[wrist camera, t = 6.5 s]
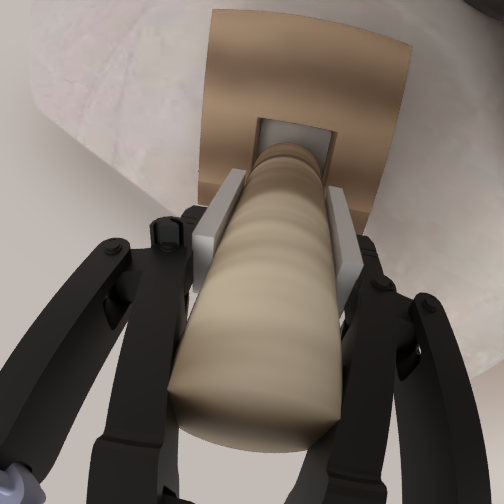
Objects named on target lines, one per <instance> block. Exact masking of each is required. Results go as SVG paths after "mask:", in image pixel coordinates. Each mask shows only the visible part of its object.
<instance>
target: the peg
mask: <svg viewBox="0 0 504 504" xmlns="http://www.w3.org/2000/svg"><path fill="white" fill-rule="evenodd" d="M167 390H168V392H169V396H170V399H171V403H172V406H173V410H174V413H175V416H176V419H177V423H178V426H179V428H180V429H182V430H184V431H185V432H187V433H189V434H191V435H193V436H195V437H198V438H201V439H203V440H205V441H208V442H211V443H214V444H218V445H221V446H225V447H229V448H234V449H238V450H244V451H252V452H263V453H289V452H298V451H305V450H308V449H309V448H310V447H311V446H312V445H313V444H314V443H315V442H316V441H317V440H319V439H320V438H321V437H322V436H323V435H324V434H325V433H326V432H327V431H328V430H329V429H330V428H331V427H332V426H333V425H334V424H335V423H336V422H337V421H338V420H339V419H341V407H342V395H343V374H342V353H341V336H340V322H339V310H338V299H337V288H336V279H335V270H334V261H333V253H332V245H331V238H330V230H329V223H328V216H327V210H326V204H325V197H324V186H323V182H322V179H321V174H320V169H319V165H318V163H317V161H316V159H315V157H314V156H313V155H312V154H311V153H310V152H309V151H308V150H306V149H305V148H303V147H301V146H299V145H296V144H292V143H280V144H276V145H273V146H270V147H269V148H267V149H266V150H264V151H263V152H262V153H261V154H260V156H259V157H258V159H257V160H256V162H255V165H254V167H253V169H252V170H251V172H250V174H249V176H248V178H247V181H246V184H245V187H244V189H243V191H242V193H241V196H240V198H239V200H238V202H237V205H236V207H235V209H234V211H233V214H232V216H231V218H230V220H229V223H228V225H227V227H226V230H225V232H224V234H223V237H222V239H221V241H220V244H219V246H218V248H217V251H216V253H215V255H214V258H213V260H212V262H211V265H210V267H209V269H208V272H207V274H206V277H205V279H204V281H203V284H202V286H201V289H200V291H199V294H198V296H197V298H196V301H195V303H194V306H193V308H192V311H191V313H190V316H189V318H188V321H187V323H186V326H185V328H184V331H183V333H182V336H181V338H180V341H179V343H178V346H177V349H176V352H175V355H174V359H173V364H172V368H171V373H170V379H169V385H168V388H167Z"/></svg>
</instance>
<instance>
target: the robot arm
mask: <svg viewBox="0 0 504 504" xmlns="http://www.w3.org/2000/svg"><path fill="white" fill-rule="evenodd" d="M465 1H466V2H467V3H469V4H470V5H472V6H473V7H475V8H476V9H478V10H479V11H481V12H483V13H485V14H487V15H489V16H491V17H493V18H496V19H498V20H502V21H504V0H465ZM246 171H247V170H240V169H233V168H232V170H231V171H230V173H229V174H228V176H227V178H226V179H225V181H224V182H223V184H222V185H221V187H220V189H219V190H218V192H217V193H216V195H215V197H214V198H213V200H212V201H211V203H210V205H209V206H208V207H201V206H195V205H193V206H192V207H190V208H188V209H186V210H185V211H184V213H183V214H182V216H181V217H180V218H178V217H173V216H169V217H162V218H158V219H156V220H154V221H153V222H152V223H151V224H150V235H151V248H145V249H130V243H129V242H128V241H127V240H125V239H122V238H110V239H108V240H105V241H103V242H101V243H100V244H99V245H98V246H97V247H96V248H95V249H94V250H93V251H92V252H91V254H90V255H89V256H88V257H87V258H86V259H85V260H84V261H83V262H82V264H81V265H80V266H79V267H78V268H77V269H76V270H75V272H74V273H73V274H72V275H71V276H70V278H69V279H68V280H67V281H66V282H65V283H64V285H63V286H62V287H61V288H60V289H59V291H58V292H57V293H56V294H55V295H54V297H53V298H52V299H51V301H50V302H49V303H48V304H47V306H46V307H45V308H44V309H43V311H42V312H41V313H40V315H39V316H38V317H37V319H36V320H35V321H34V323H33V324H32V325H31V327H30V328H29V329H28V331H27V332H26V334H25V335H24V336H23V338H22V339H21V341H20V342H19V344H18V345H17V346H16V348H15V349H14V351H13V352H12V354H11V355H10V357H9V358H8V360H7V361H6V363H5V365H4V366H3V368H2V369H1V371H0V504H43V503H44V502H45V500H46V496H45V493H44V491H43V490H42V489H41V487H40V483H41V482H42V481H43V480H44V479H45V478H46V476H47V475H48V473H49V472H50V470H51V468H52V467H53V465H54V463H55V461H56V459H57V457H58V455H59V453H60V450H61V448H62V446H63V444H64V441H65V440H66V437H67V435H68V433H69V431H70V429H71V427H72V425H73V423H74V420H75V418H76V416H77V414H78V412H79V410H80V408H81V406H82V404H83V402H84V400H85V398H86V396H87V394H88V392H89V390H90V388H91V387H92V385H93V383H94V381H95V379H96V377H97V375H98V373H99V371H100V370H101V368H102V366H103V364H104V362H105V360H106V358H107V357H108V355H109V353H110V351H111V349H112V348H113V346H114V344H115V342H116V340H117V339H118V337H119V335H120V333H121V332H122V330H123V328H124V327H125V325H126V323H127V322H128V324H127V328H126V331H125V335H124V339H123V343H122V347H121V351H120V356H119V360H118V364H117V368H116V373H115V378H114V383H113V387H112V393H111V397H110V403H109V408H108V414H107V420H106V426H105V430H104V433H103V435H101V436H100V437H99V438H97V439H96V441H95V443H94V445H93V449H92V454H91V462H90V469H89V478H88V488H87V500H86V501H87V502H86V504H195V503H193V502H190V501H186V500H183V499H179V474H178V465H177V463H178V433H179V426H178V423H177V419H176V416H175V413H174V410H173V406H172V403H171V399H170V396H169V392H168V390H167V388H168V385H169V379H170V373H171V368H172V364H173V359H174V355H175V352H176V349H177V346H178V343H179V341H180V338H181V336H182V333H183V331H184V328H185V326H186V323H187V315H188V305H189V290H190V287H191V285H192V283H193V292H194V293H199V291H200V289H201V286H202V284H203V281H204V279H205V277H206V274H207V272H208V269H209V267H210V265H211V262H212V260H213V258H214V255H215V253H216V251H217V248H218V246H219V244H220V241H221V239H222V237H223V234H224V232H225V230H226V227H227V225H228V223H229V220H230V218H231V216H232V214H233V211H234V209H235V207H236V205H237V202H238V200H239V198H240V196H241V193H242V191H243V189H244V187H245V180H246ZM325 204H326V210H327V216H328V223H329V230H330V238H331V245H332V253H333V261H334V270H335V279H336V288H337V299H338V310H339V319H340V317H341V315H342V313H343V311H345V320H344V322H343V324H342V326H341V328H340V336H341V353H342V374H343V395H342V407H341V419H339V420H338V421H337V422H336V423H335V424H334V425H333V426H332V427H331V428H330V429H329V430H328V431H327V432H326V433H325V434H324V435H323V436H322V437H321V438H320V439H319V440H317V441H316V442H315V443H314V444H313V445H312V446H311V447H310V448H309V449H308V451H307V454H306V457H305V460H304V462H303V466H302V468H301V471H300V473H299V476H298V479H297V481H296V484H295V486H294V488H293V489H292V491H291V492H290V493H289V495H288V497H287V499H286V501H285V503H284V504H386V500H387V488H386V486H385V484H384V483H383V482H382V481H381V471H382V466H383V462H384V456H385V451H386V445H387V439H388V433H389V426H390V418H391V410H392V401H393V393H394V400H395V406H396V407H395V408H396V415H397V423H398V433H399V444H400V456H401V473H402V504H492V503H491V489H490V479H489V470H488V464H487V463H488V462H487V456H486V449H485V444H484V439H483V434H482V428H481V424H480V419H479V415H478V410H477V406H476V402H475V398H474V395H473V391H472V387H471V384H470V381H469V377H468V374H467V371H466V368H465V364H464V361H463V358H462V355H461V352H460V350H459V347H458V344H457V341H456V338H455V336H454V333H453V330H452V328H451V325H450V323H449V320H448V318H447V315H446V313H445V310H444V308H443V306H442V304H441V303H440V301H439V300H438V299H437V298H436V297H434V296H433V295H431V294H428V293H418V294H417V295H416V296H415V298H414V300H412V299H410V298H408V297H405V296H403V295H401V294H399V293H397V292H396V286H395V284H394V283H393V281H392V280H391V279H389V278H388V277H387V276H385V275H384V274H383V270H382V267H381V264H380V261H379V258H378V254H377V252H376V248H375V245H374V243H373V242H372V241H371V240H370V238H369V237H368V236H363V235H358V234H356V233H355V230H354V226H353V223H352V219H351V216H350V212H349V209H348V205H347V202H346V199H345V195H344V192H343V189H342V188H338V187H333V186H328V190H327V194H326V198H325ZM419 347H420V349H421V354H420V351H419Z"/></svg>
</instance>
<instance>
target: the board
mask: <svg viewBox="0 0 504 504" xmlns="http://www.w3.org/2000/svg"><path fill="white" fill-rule="evenodd" d="M411 50H412V46H411V45H408V44H406V43H403V42H400V41H397V40H395V39H392V38H389V37H386V36H383V35H380V34H376V33H373V32H370V31H366V30H363V29H359V28H355V27H352V26H348V25H344V24H339V23H335V22H331V21H326V20H321V19H316V18H310V17H304V16H298V15H291V14H284V13H275V12H265V11H253V10H233V9H213V10H212V18H211V26H210V34H209V43H208V52H207V62H206V72H205V83H204V95H203V108H202V122H201V138H200V157H199V181H198V204H200V205H206V206H209V205H210V203H211V201H212V200H213V198H214V197H215V195H216V193H217V192H218V190H219V189H220V187H221V185H222V184H223V182H224V181H225V179H226V178H227V176H228V174H229V173H230V171H231V170H232V168H233V169H240V170H247V171H246V180H245V184H246V181H247V178H248V176H249V174H250V172H251V170H252V169H253V167H254V165H255V162H256V158H257V150H258V143H259V135H260V127H261V120H262V118H267V119H273V120H279V121H285V122H291V123H297V124H302V125H307V126H312V127H317V128H322V129H326V130H331V131H332V135H331V140H330V144H329V149H328V153H327V158H326V162H325V167H324V171H323V176H322V182H323V186H324V197H325V198H326V194H327V190H328V186H333V187H338V188H342V189H343V192H344V195H345V199H346V202H347V205H348V209H349V212H350V216H351V219H352V223H353V226H354V230H355V233H356V234H361V235H362V234H363V231H364V228H365V226H366V223H367V220H368V217H369V214H370V211H371V208H372V205H373V202H374V199H375V196H376V193H377V190H378V187H379V183H380V180H381V177H382V174H383V170H384V167H385V163H386V160H387V156H388V153H389V149H390V146H391V142H392V138H393V134H394V130H395V126H396V122H397V118H398V114H399V110H400V106H401V101H402V97H403V92H404V87H405V83H406V78H407V72H408V67H409V62H410V56H411Z"/></svg>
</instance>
